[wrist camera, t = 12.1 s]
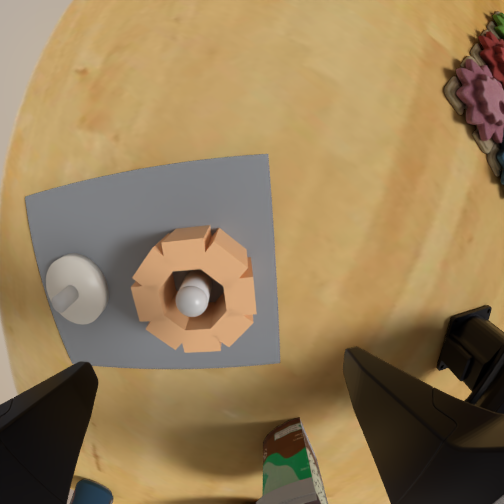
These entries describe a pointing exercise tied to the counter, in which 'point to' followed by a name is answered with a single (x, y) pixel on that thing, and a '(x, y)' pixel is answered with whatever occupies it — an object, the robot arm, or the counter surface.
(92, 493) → the soda can
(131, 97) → the counter surface
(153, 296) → the orange gear
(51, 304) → the gear board
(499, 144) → the gear puzzle
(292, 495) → the food container
